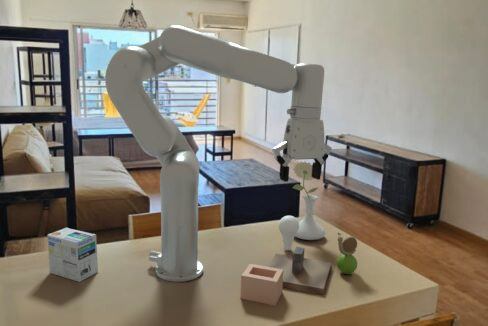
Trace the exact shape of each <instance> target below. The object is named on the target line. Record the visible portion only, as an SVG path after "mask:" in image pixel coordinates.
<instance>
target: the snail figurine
mask: <svg viewBox="0 0 488 326" xmlns="http://www.w3.org/2000/svg"><path fill="white" fill-rule="evenodd" d="M341 235H342V234H341V232H337V241H338V242H337V245H338V250H339V252H340V256H338V258H337V260H336V261H337V262H336V266H337V268H338V270H339V271H340V273H342V274H344V275H350V274H352V273H354V272H355V271H357V268H358V260H357V258H356V257H355V256H354V255H353V254H355V253H356V251H357V247H358V240H357V239H356V238H355V237H354V236H348V237H346V238H343V237H342V236H341Z"/></svg>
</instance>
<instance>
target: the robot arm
mask: <svg viewBox="0 0 488 326" xmlns="http://www.w3.org/2000/svg"><path fill="white" fill-rule="evenodd" d="M179 65H182V66H186V67H189V68H193V69H196V70H199V71H202V72H206V73H208V74H211V75H213V76H214V75H215V76H217V77H221V78H224V79H228V80H229V79H230V80H234V81H239V82H242V83H245V84H249V85H251V86H255V87H258V88H262V89H265V90H267V91H270V92H273V93H277V94H286V93H289V92H291V106H290V108H288V109H287V110H286V114H287V115H289V117H288V118H287V119H288V120H287V121H286V126H285V130H284V135H283V141H282V142H281V143H279V144H278V145H276V146H274V147H273V148H271V151H272V154H273V156H274V159H275V160H276V162H277V163H278V164H279V180H281V181H283V182H284V183H288V182H289V178H290V177H289V176H290V166H289V164H290V163H291V161H292V160H300V161H301V160H313V161H314V162H312V164H311V165H312V177H313V178H315V179H314V180H317V181H319V180H321V175H322V168H323V167H322V166H323V165H324V164H325V161H326V160H327V159H328V158H329V156H330V153H331V152H332V146H330V145H329V144H327V143H325V126H324V120H323V119H321V116H322V115H321V114H322V103H323V93H324V83H325V82H324V81H325V67H324V66H323V65H321V64H319V63H297V64H294V63H290V62H289V61H287V60H284V59H281V58H278V57H275V56H271V55H268V54H266V53H262V52H260V51H256V50H252V49H250V48H247V47H243V46H242V45H239V44H238V43H237V44H236V43H235V42H231V41H228V40H224V39H221V38H219V37H215V36H212V35H209V34H206V33H203V32H200V31H197V30H194V29H191V28H188V27H185V26H183V25H174V24H173V25H169V26H167V27H166V28H165V29H164V30H163V31H162V33H160V36H158V37H155V38H154V39H152V40H150V41H148V42H146V43H143V44H141V45H139V46H134V45H133V46H132V45H130V46H129V45H128V46H124V47H122V48H120V49H118V50H117V51H116V52H115V53H114V54H113V55H112V57H111V58H110V60H109V62H108V64H107V67H106V70H105V74H104V75H105V77H104V80H105V88H106V92H107V94H108V97H109V99H110V101H111V103H112V105H113V106H114V108H115V110H116V111H117V113H118V114H119V116H120V117H121V119H122V120H123V122H124V123H125V125H126V126H127V128H128V129H129V131H130V132H131V135H133V138H134V139H135V140H136V142H137V144H138V145H139V146H140V148H141V150H142V151H143V152H144V153H145V154H147V155H149V156H150V157H154V158H156V159H157V160H158V161H159V163H160V165H161V169H160V174H159V189H160V190H159V191H160V216H161V217H160V220H161V221H160V229H161V230H160V231H161V235H160V240H161V241H160V242H161V243H160V244H161V248H160V250H161V251H156V250H151V251H149V255H148V256H149V259H148V260H149V261H150V262H156V263H157V264H156V266H155V274H156V276H157V277H158V278H160V279H162V280H164V281H168V282H175V283H176V282H179V283H180V282H188V281H192V280H195V279H197V278H199V277H200V276H201V275H202V274H203V272H204V266H203V264H202V263H201V262H200V261H199V260H198V256H199V255H198V254H199V253H198V249H199V248H198V247H199V246H198V245H199V244H198V240H199V236H198V235H199V233H198V232H199V185H200V184H199V180H200V167H201V166H200V161H199V158H198V157H197V155H196V153H195V152H194V151H195V150H194V149H193V148H192V147H191V145H190V144H189V142H188V141H187V138H186V137H185V136H184V134H183V133H182V131H181V130H180V128H179V126H177V124H176V123H175V121H173V119H171V118H169V117H168V116H164V115H162V113H161V112H160V111H159V109H158V107H157V106H156V104H155V103H154V101H153V99H152V98H151V96H150V95H149V94H148V93H147V91H146V89H145V87H144V84H143V82H145V81H147V80H151V79H152V78H154V77H156V76H158V75H160V74H162V73H164V72H166V71H168V70H171V69H173V68H175V67H177V66H179ZM281 151H282V156H281Z"/></svg>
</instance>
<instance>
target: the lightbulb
mask: <svg viewBox="0 0 488 326" xmlns="http://www.w3.org/2000/svg"><path fill="white" fill-rule="evenodd" d="M299 222H300V221H298V219H297V218H296V217H295V216H293V215H285V216H283V217H281V218H280V220H279V222H278V229H279V231H280V234H281V236H282V242H283V245H282V246H283V249H284V250H285V251H290V250H292V248H293V243H294V239H295V235H296V233H297V231H298V230H299Z"/></svg>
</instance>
